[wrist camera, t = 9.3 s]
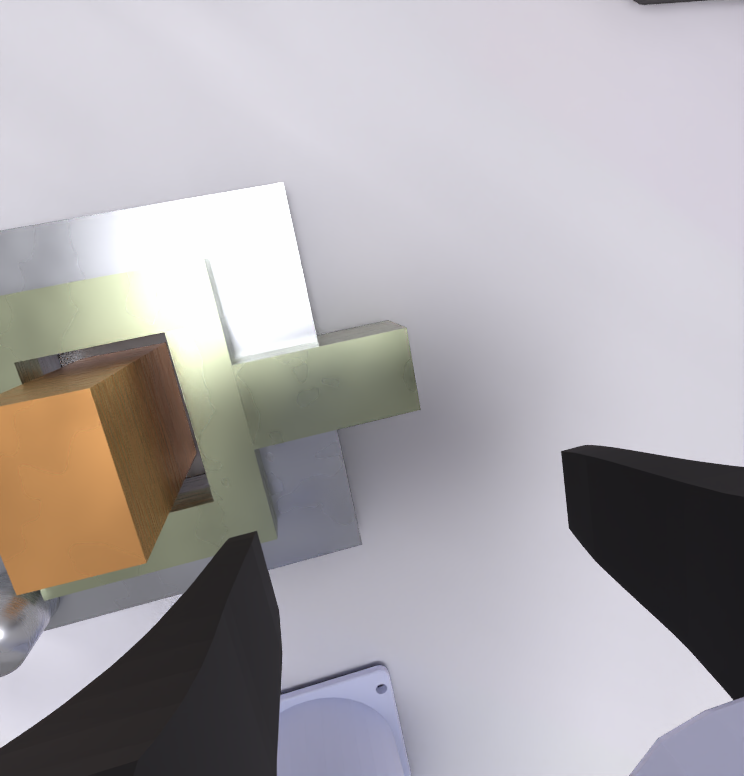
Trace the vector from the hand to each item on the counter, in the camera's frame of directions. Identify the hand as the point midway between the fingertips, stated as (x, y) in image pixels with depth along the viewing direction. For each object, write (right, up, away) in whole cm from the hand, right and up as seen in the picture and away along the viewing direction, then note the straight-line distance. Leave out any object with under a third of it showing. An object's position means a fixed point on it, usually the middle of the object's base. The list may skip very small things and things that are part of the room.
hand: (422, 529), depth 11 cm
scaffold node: (-8, +3, +8) cm, 12 cm away
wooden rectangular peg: (-10, +2, +8) cm, 13 cm away
